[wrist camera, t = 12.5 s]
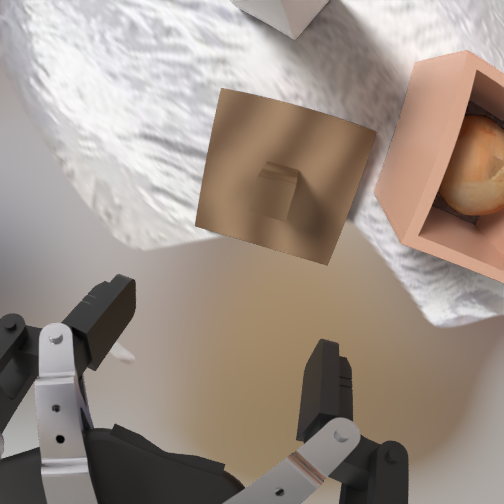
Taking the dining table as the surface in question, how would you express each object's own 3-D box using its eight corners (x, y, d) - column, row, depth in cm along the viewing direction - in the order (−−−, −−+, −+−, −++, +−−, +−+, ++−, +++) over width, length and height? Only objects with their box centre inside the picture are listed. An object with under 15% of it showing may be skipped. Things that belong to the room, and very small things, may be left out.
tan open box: (519, 124, 22) (585, 148, 12) (477, 235, 30) (524, 292, 20) (414, 62, 23) (467, 50, 13) (373, 192, 31) (400, 243, 20)
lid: (374, 130, 27) (391, 141, 21) (327, 261, 35) (328, 297, 29) (223, 88, 28) (200, 87, 22) (197, 222, 36) (174, 251, 30)
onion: (408, 189, 30) (440, 227, 21) (422, 99, 25) (464, 104, 16) (478, 204, 28) (521, 243, 20) (495, 122, 24) (548, 139, 15)
